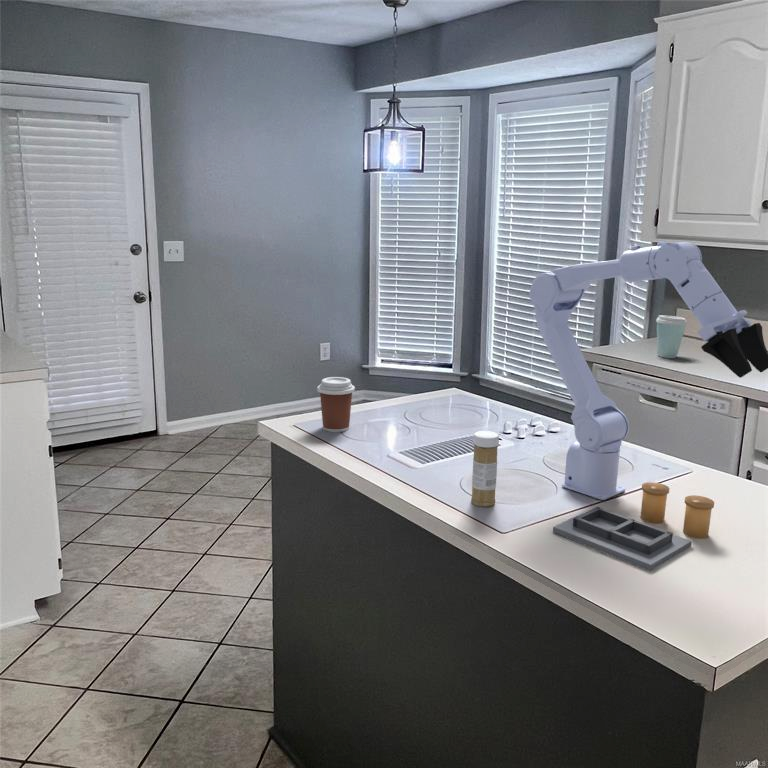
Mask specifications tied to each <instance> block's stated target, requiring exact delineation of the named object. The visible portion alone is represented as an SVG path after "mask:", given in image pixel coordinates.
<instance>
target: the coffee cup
mask: <svg viewBox="0 0 768 768" xmlns="http://www.w3.org/2000/svg"><path fill="white" fill-rule="evenodd" d="M316 390H317V392H318V393H319V395H320V396H319V398H320V408H321V409H320V410H321V418H322V419H321V420H322V429H323V430H324V431H325V432H330V433H331V432H332V433H339V432H345V431H346V432H347V431H348V430H349V429H350V424H351V423H350V421H351V420H350V419H351V410H352V399H353V398H352V397H353V393H354V392H355V391H356V387H355V385H353V384H352V381H351V379H350V378H348V377H343V376H329V377H325V378H322V379H321V382H320V384H319V385H318V386H317V387H316Z"/></svg>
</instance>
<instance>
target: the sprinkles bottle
mask: <svg viewBox="0 0 768 768" xmlns="http://www.w3.org/2000/svg"><path fill="white" fill-rule="evenodd" d="M472 439H473V460H472V477H471V478H472V479H471V481H472V482H471V483H472V484H471V485H472V486H471V498H470V499H471V503H472V504H473V505H475V506H477V507H481V508H482V507H483V508H487V507H488V508H489V507H492V506H494V505H495V504H496V487H497V475H498V473H497V472H498V448H499V444H500V442H499V441H500V435H499V434H498V432H493V431H491V430H490V431H489V430H479V431H477V432H474V434H473V438H472Z"/></svg>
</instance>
